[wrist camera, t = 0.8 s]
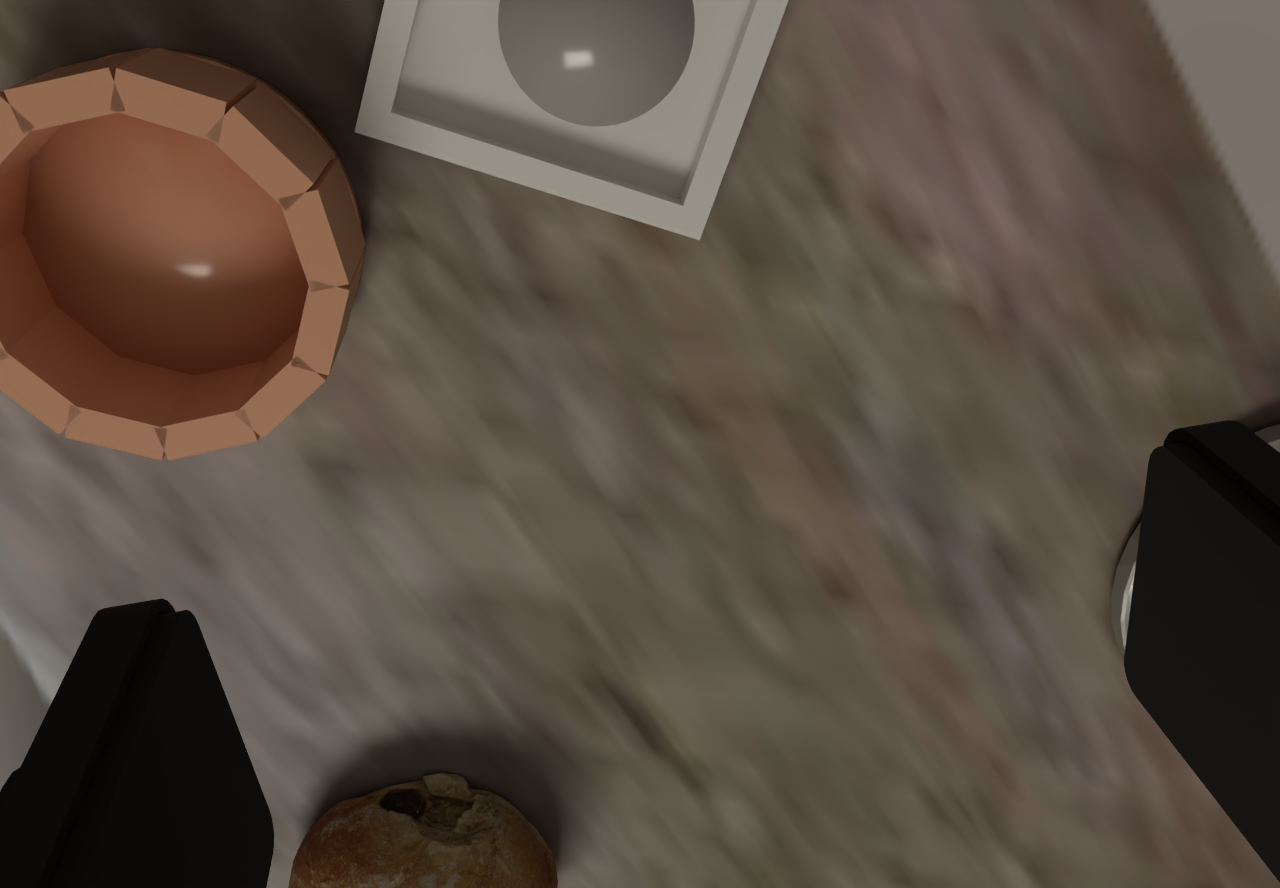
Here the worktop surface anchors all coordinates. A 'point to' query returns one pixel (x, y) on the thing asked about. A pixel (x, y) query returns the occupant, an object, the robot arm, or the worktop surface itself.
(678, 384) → the worktop surface
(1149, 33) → the worktop surface
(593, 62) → the grey cylinder
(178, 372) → the bowl
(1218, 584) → the robot arm
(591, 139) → the parts tray
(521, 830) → the bread roll
